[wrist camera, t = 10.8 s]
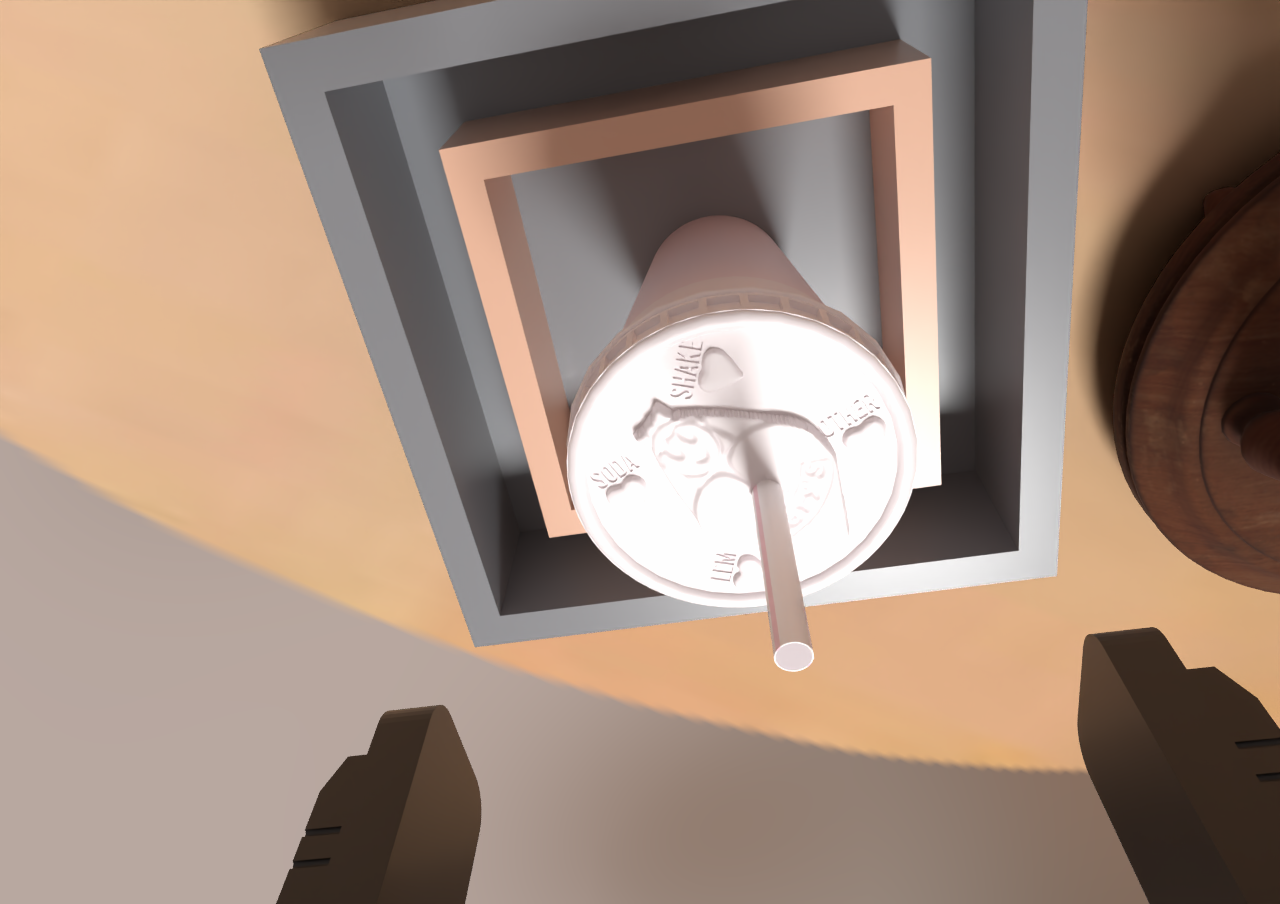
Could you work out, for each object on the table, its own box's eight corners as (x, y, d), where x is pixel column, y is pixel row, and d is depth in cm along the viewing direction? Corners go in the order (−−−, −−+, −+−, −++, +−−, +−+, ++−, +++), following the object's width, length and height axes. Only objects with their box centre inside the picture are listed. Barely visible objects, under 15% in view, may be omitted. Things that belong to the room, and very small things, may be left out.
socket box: (336, 20, 23) (259, 49, 19) (1007, -118, 21) (1094, -123, 17) (502, 542, 31) (474, 647, 27) (999, 475, 29) (1057, 575, 25)
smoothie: (747, 427, 27) (809, 846, 15) (555, 319, 26) (453, 691, 14) (887, 245, 24) (1101, 584, 12) (680, 111, 23) (691, 349, 11)
